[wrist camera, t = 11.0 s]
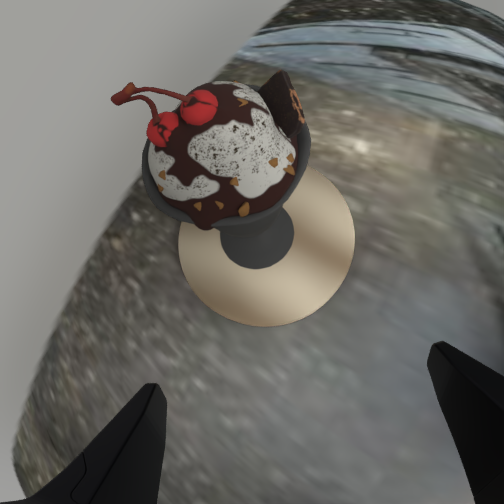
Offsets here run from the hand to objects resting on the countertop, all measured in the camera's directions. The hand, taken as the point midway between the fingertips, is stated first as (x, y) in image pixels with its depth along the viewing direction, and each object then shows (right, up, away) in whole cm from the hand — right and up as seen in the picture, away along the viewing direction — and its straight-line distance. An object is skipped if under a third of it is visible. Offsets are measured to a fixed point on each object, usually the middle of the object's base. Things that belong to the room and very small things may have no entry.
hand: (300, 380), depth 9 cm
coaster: (0, +5, +13) cm, 14 cm away
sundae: (-1, +5, +12) cm, 13 cm away
